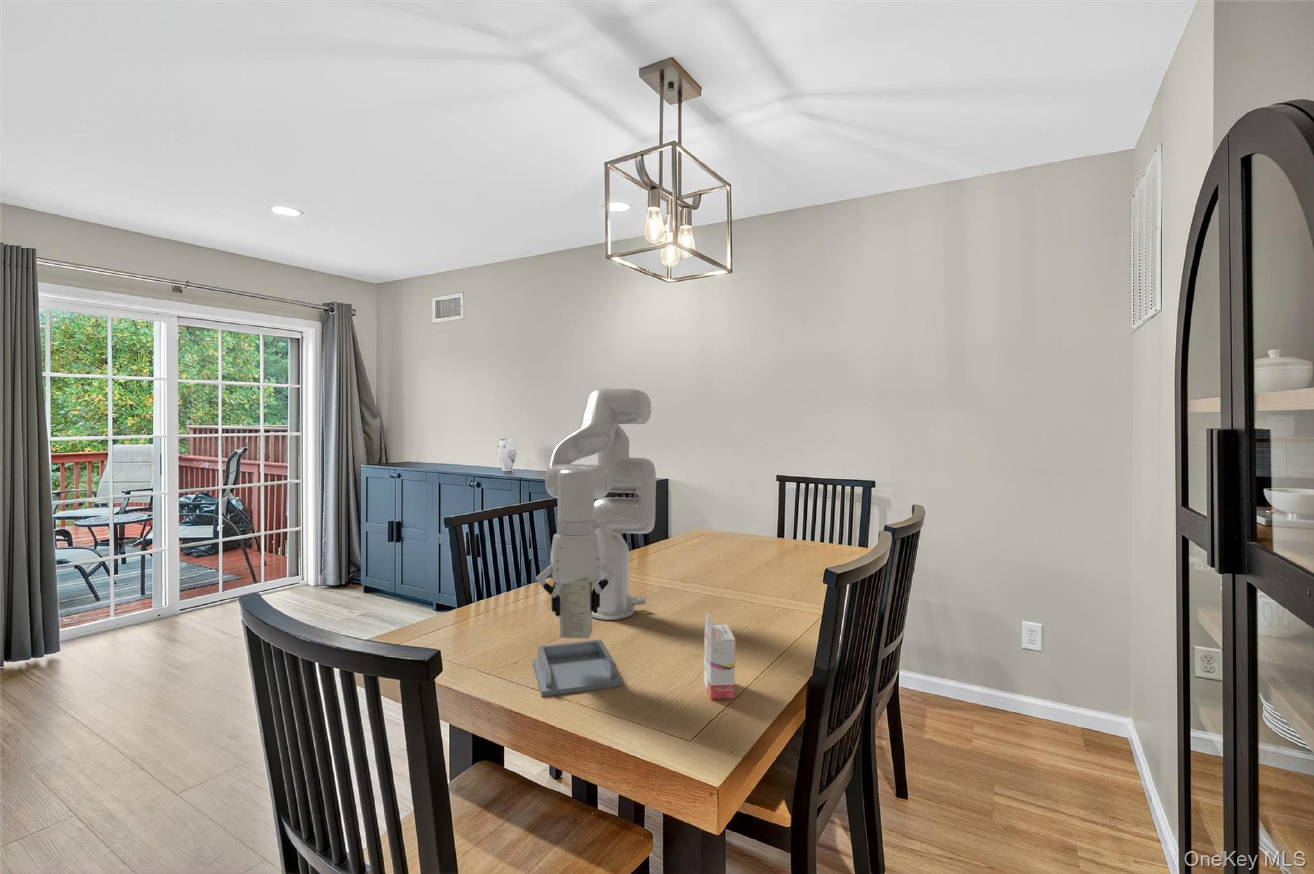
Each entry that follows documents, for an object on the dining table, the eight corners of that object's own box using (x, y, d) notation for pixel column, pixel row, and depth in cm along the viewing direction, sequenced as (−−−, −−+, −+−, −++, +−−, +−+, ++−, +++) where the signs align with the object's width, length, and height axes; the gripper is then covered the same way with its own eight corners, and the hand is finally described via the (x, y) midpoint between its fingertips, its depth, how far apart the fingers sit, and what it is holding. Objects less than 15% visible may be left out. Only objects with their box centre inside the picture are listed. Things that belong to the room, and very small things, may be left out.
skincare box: (592, 632, 129) (593, 575, 129) (588, 639, 125) (588, 580, 124) (563, 630, 130) (563, 574, 129) (558, 638, 125) (558, 579, 125)
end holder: (604, 655, 138) (604, 638, 138) (622, 686, 122) (622, 666, 122) (532, 663, 133) (532, 645, 133) (541, 696, 118) (541, 676, 117)
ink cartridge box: (735, 699, 117) (736, 624, 117) (710, 700, 117) (711, 624, 116) (727, 680, 126) (727, 609, 125) (703, 680, 125) (703, 609, 125)
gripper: (612, 523, 133) (612, 603, 133) (531, 526, 127) (531, 611, 128) (621, 529, 125) (620, 614, 126) (535, 533, 120) (535, 622, 121)
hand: (575, 612), depth 127 cm, fingers closed on skincare box, 7 cm apart
